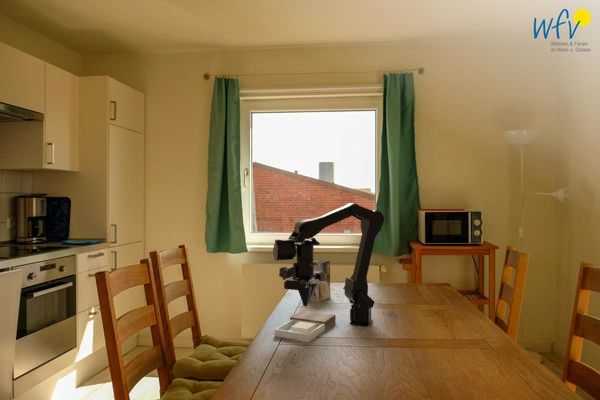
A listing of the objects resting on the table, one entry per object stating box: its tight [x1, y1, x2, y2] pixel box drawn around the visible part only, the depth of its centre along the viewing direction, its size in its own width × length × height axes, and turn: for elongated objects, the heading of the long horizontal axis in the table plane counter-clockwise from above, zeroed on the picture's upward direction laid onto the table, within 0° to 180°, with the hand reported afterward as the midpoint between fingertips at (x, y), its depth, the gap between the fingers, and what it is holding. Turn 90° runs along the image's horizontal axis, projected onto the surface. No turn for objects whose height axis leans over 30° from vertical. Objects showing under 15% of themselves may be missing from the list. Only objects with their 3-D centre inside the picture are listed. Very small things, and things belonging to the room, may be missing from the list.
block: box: [291, 322, 316, 334], centre depth 136 cm, size 6×6×2 cm
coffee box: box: [310, 259, 331, 303], centre depth 180 cm, size 9×6×16 cm
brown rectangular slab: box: [289, 310, 336, 332], centre depth 145 cm, size 13×9×3 cm
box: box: [274, 319, 326, 343], centre depth 135 cm, size 12×12×2 cm
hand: (305, 306), depth 139 cm, fingers closed
